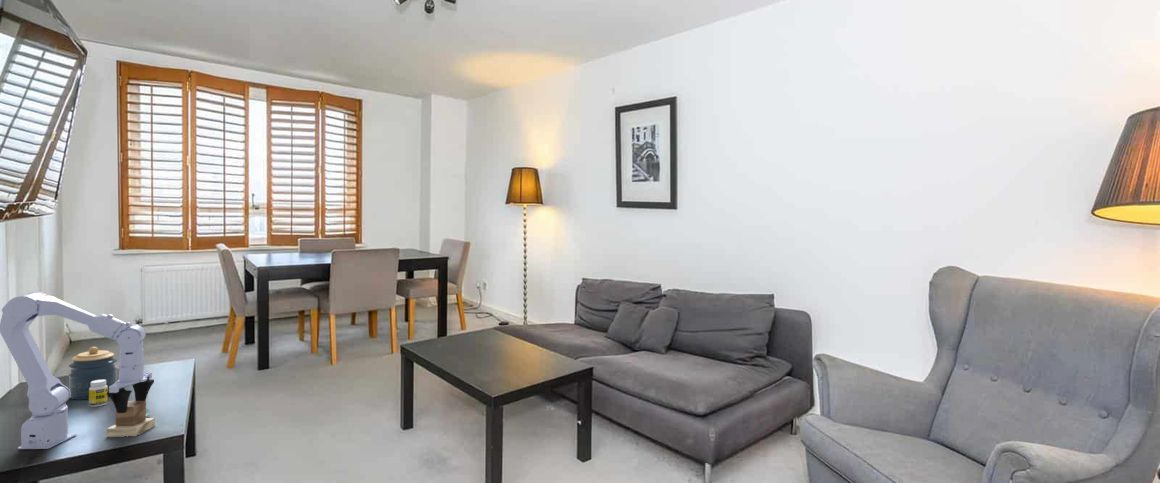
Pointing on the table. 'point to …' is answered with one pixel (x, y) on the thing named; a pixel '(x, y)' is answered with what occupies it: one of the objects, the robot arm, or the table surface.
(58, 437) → the robot arm
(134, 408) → the walnut cube
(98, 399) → the supplement bottle
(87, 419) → the table surface
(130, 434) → the maple block
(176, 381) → the table surface
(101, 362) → the canister
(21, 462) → the table surface
